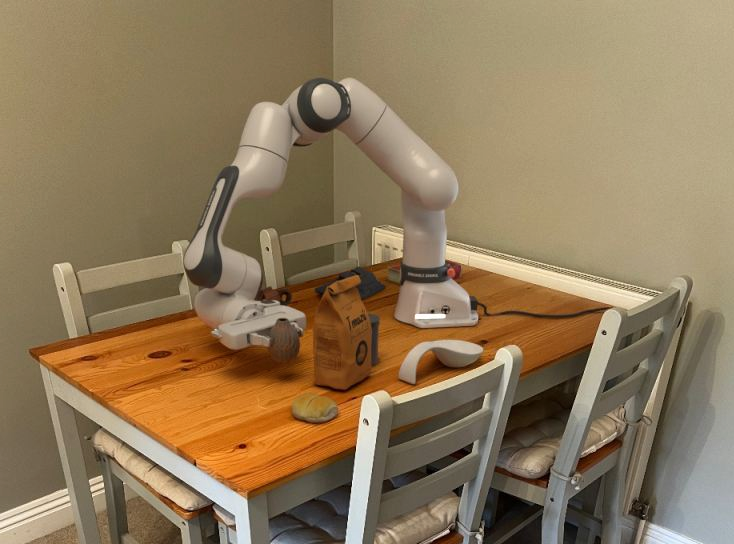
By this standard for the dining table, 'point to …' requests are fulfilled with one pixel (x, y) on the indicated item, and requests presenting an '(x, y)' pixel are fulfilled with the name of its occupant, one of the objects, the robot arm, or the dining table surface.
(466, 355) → the spoon rest
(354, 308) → the coffee package
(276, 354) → the vase
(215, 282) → the robot arm
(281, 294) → the brown grey irregular piece
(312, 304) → the dining table surface
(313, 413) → the bread roll
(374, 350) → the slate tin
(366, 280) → the folded navy cloth
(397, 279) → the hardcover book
